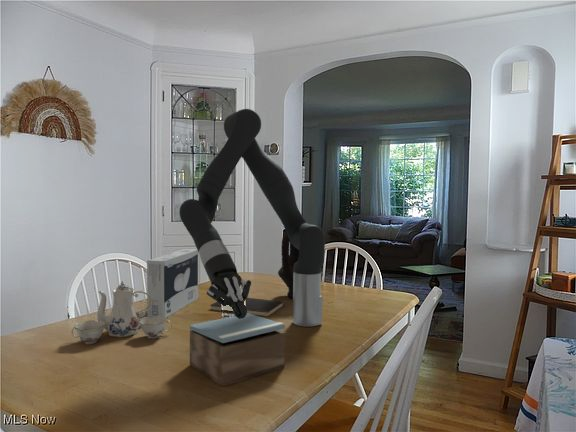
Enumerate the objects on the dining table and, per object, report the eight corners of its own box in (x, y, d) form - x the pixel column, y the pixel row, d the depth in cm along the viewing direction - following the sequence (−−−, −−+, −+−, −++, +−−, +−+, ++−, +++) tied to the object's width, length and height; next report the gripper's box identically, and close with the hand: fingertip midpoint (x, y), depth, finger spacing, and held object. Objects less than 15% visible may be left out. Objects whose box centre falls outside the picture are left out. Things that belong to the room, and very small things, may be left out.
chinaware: (70, 356, 125) (69, 298, 122) (72, 332, 140) (71, 280, 137) (174, 343, 136) (175, 290, 134) (165, 322, 151) (166, 274, 149)
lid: (189, 329, 115) (189, 324, 115) (248, 316, 126) (248, 312, 126) (222, 343, 103) (222, 337, 103) (284, 328, 114) (284, 323, 114)
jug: (294, 289, 203) (295, 222, 201) (330, 295, 192) (331, 224, 190) (265, 298, 186) (265, 225, 184) (302, 305, 175) (303, 228, 173)
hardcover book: (267, 318, 160) (267, 311, 160) (209, 311, 168) (210, 304, 168) (283, 307, 175) (283, 301, 175) (229, 301, 183) (230, 295, 183)
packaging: (163, 319, 155) (163, 261, 153) (147, 318, 156) (146, 260, 155) (198, 298, 184) (198, 249, 183) (184, 297, 186) (184, 248, 184)
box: (189, 364, 116) (189, 330, 115) (248, 349, 127) (248, 317, 127) (222, 386, 103) (222, 348, 103) (284, 367, 115) (284, 332, 114)
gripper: (199, 254, 115) (225, 313, 106) (243, 250, 123) (270, 304, 115) (190, 272, 119) (214, 330, 111) (232, 266, 128) (258, 319, 119)
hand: (243, 316), depth 113 cm, fingers closed
